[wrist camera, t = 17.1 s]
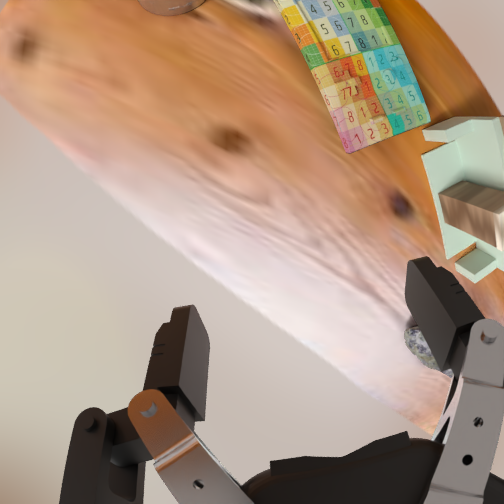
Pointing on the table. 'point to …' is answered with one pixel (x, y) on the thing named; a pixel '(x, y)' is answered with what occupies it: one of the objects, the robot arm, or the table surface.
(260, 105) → the table surface
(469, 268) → the mint green shelf
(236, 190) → the table surface
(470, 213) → the brown wooden block
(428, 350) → the mineral rock
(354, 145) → the puzzle game
